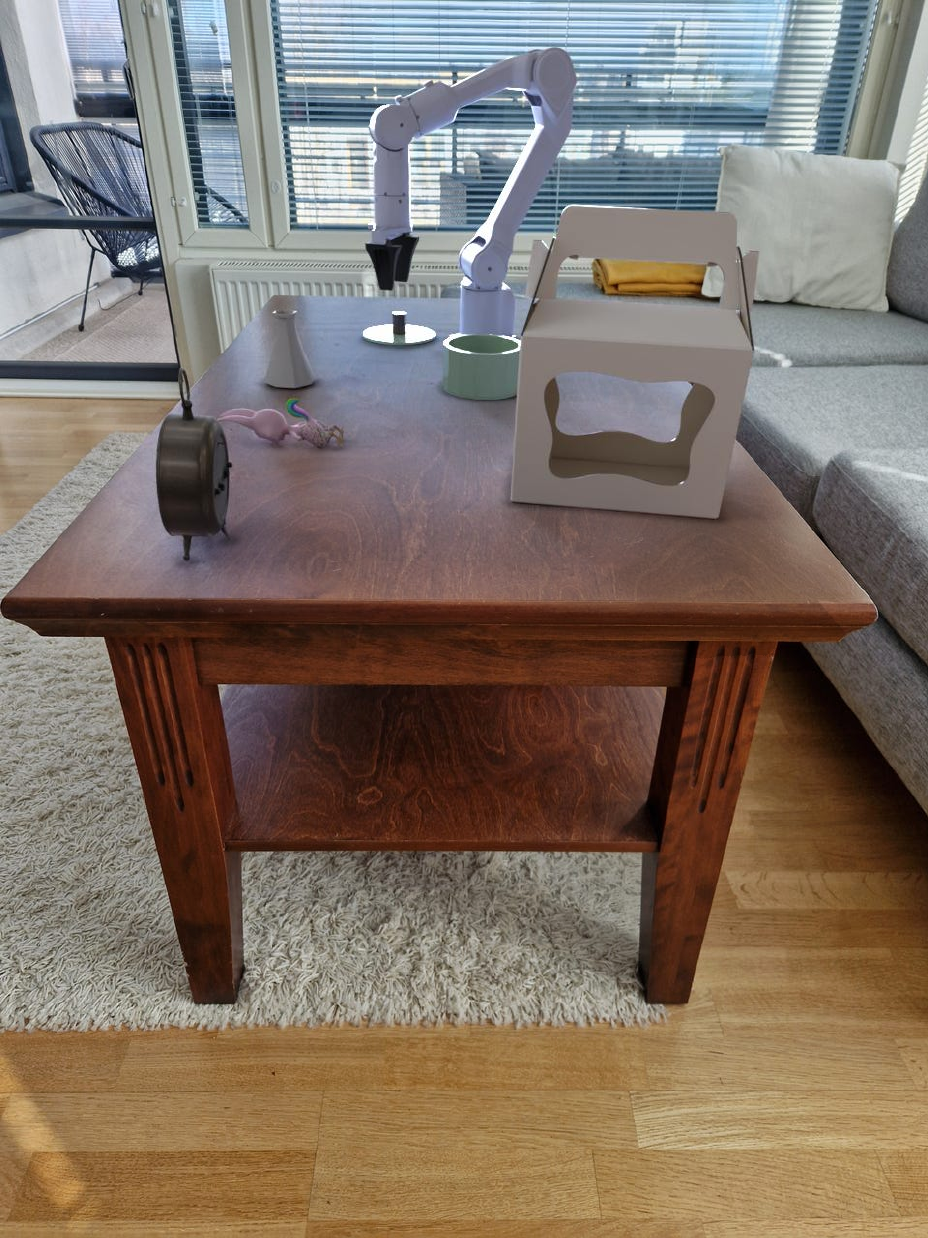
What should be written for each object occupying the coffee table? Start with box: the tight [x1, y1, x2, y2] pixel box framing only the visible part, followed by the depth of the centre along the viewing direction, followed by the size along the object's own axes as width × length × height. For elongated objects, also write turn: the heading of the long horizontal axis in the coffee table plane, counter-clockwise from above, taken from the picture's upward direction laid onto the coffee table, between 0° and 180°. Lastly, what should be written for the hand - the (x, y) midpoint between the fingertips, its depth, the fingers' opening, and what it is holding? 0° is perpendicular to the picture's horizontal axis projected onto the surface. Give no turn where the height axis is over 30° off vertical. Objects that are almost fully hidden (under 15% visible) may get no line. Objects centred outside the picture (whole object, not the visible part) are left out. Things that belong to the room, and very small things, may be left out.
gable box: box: [510, 204, 760, 520], centre depth 85 cm, size 22×13×28 cm, turn 82°
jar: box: [442, 334, 520, 401], centre depth 120 cm, size 12×12×6 cm
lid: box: [362, 310, 436, 346], centre depth 143 cm, size 13×13×4 cm
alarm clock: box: [155, 367, 233, 562], centre depth 74 cm, size 11×5×16 cm, turn 5°
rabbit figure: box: [216, 397, 345, 449], centre depth 99 cm, size 6×6×15 cm
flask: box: [263, 308, 317, 389], centre depth 119 cm, size 7×7×10 cm
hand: (393, 285), depth 138 cm, fingers open, 7 cm apart
